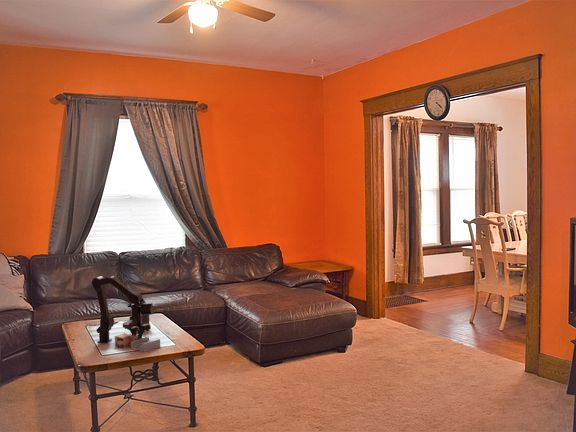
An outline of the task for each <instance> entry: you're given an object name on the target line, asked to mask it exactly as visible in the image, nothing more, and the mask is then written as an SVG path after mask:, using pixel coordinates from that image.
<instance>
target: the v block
mask: <svg viewBox="0 0 576 432" xmlns="http://www.w3.org/2000/svg"><path fill="white" fill-rule="evenodd" d="M157 348H161V339H160V338H156V339H153V340H151V339H150V337H149V336H146V337H142V338H141V339H138V340H135V341H131V347H130V349H131V350H136V351H141V352H147V351H150V350H153V349H157Z"/></svg>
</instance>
